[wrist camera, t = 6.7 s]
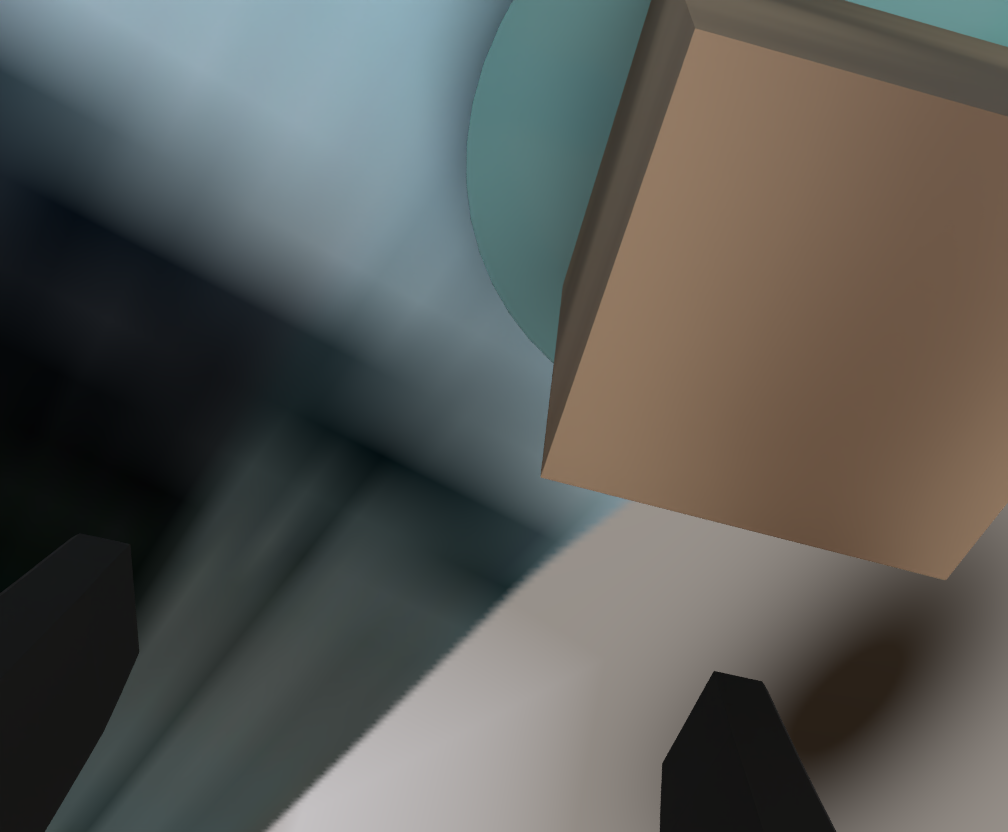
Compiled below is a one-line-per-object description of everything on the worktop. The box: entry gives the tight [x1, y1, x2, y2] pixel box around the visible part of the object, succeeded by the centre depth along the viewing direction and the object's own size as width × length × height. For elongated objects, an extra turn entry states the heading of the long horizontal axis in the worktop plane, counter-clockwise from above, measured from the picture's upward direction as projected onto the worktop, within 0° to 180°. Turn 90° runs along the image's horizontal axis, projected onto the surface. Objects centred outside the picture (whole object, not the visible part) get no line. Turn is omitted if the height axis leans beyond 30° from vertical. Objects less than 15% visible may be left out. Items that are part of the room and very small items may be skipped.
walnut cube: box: [541, 0, 1008, 580], centre depth 11 cm, size 5×5×5 cm
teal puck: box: [466, 0, 1008, 363], centre depth 14 cm, size 9×9×4 cm
